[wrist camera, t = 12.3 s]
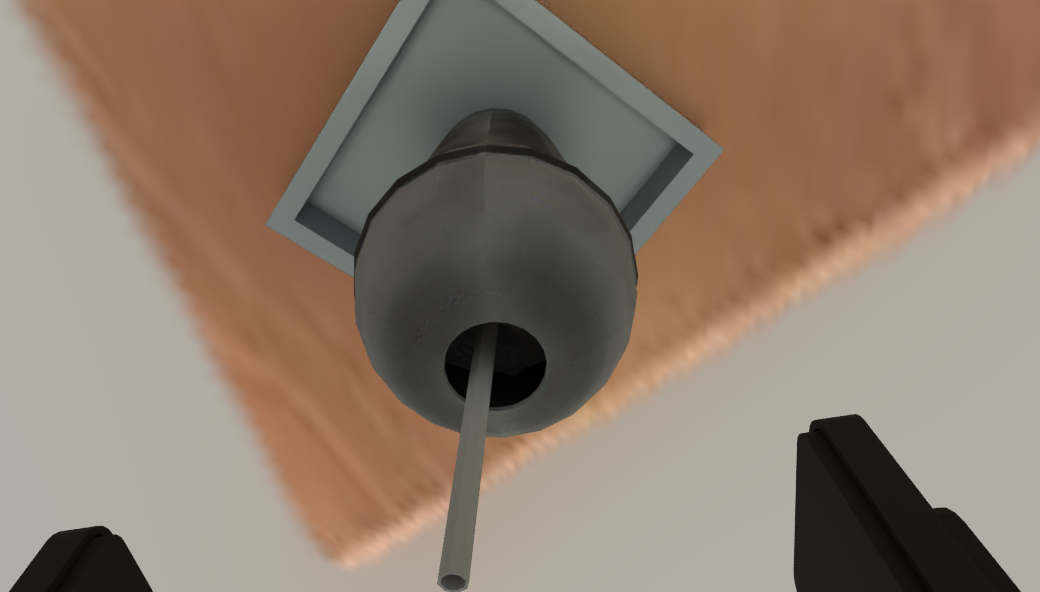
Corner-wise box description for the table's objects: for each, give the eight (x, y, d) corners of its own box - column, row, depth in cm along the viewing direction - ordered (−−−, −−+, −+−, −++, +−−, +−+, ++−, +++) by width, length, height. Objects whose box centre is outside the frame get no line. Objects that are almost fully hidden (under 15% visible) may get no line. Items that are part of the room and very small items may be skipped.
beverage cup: (623, 136, 28) (849, 467, 10) (524, 278, 30) (561, 744, 12) (465, 32, 26) (388, 205, 8) (374, 192, 29) (163, 595, 11)
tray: (449, -70, 25) (443, -73, 23) (703, 131, 29) (724, 149, 26) (286, 200, 29) (265, 224, 27) (524, 346, 33) (527, 381, 30)
